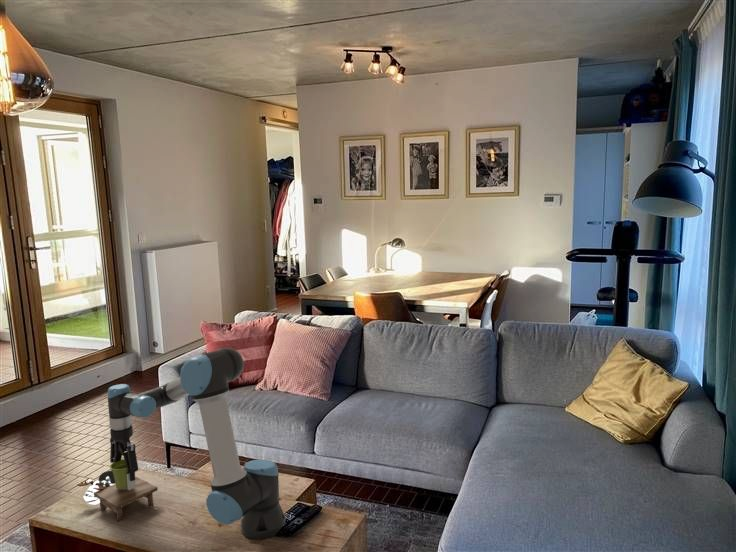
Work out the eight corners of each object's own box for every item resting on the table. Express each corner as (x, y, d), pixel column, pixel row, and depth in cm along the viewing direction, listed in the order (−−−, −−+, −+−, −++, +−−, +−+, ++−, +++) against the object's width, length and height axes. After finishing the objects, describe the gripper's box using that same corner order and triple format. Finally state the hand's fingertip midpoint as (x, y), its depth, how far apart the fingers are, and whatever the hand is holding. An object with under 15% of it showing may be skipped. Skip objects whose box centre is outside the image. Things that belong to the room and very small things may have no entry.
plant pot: (105, 491, 196) (104, 468, 195) (122, 478, 205) (120, 457, 205) (128, 493, 194) (126, 470, 194) (144, 480, 204) (142, 459, 203)
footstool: (158, 504, 202) (157, 487, 202) (117, 524, 190) (115, 505, 189) (135, 492, 212) (134, 475, 211) (95, 510, 199) (93, 492, 199)
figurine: (134, 472, 216) (102, 485, 198) (132, 496, 215) (99, 511, 198) (105, 466, 219) (71, 479, 202) (103, 490, 219) (68, 505, 201)
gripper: (146, 429, 194) (150, 488, 197) (116, 417, 207) (120, 473, 209) (126, 436, 188) (130, 497, 191) (97, 423, 201) (101, 481, 203)
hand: (125, 485), depth 200 cm, fingers closed on plant pot, 8 cm apart
